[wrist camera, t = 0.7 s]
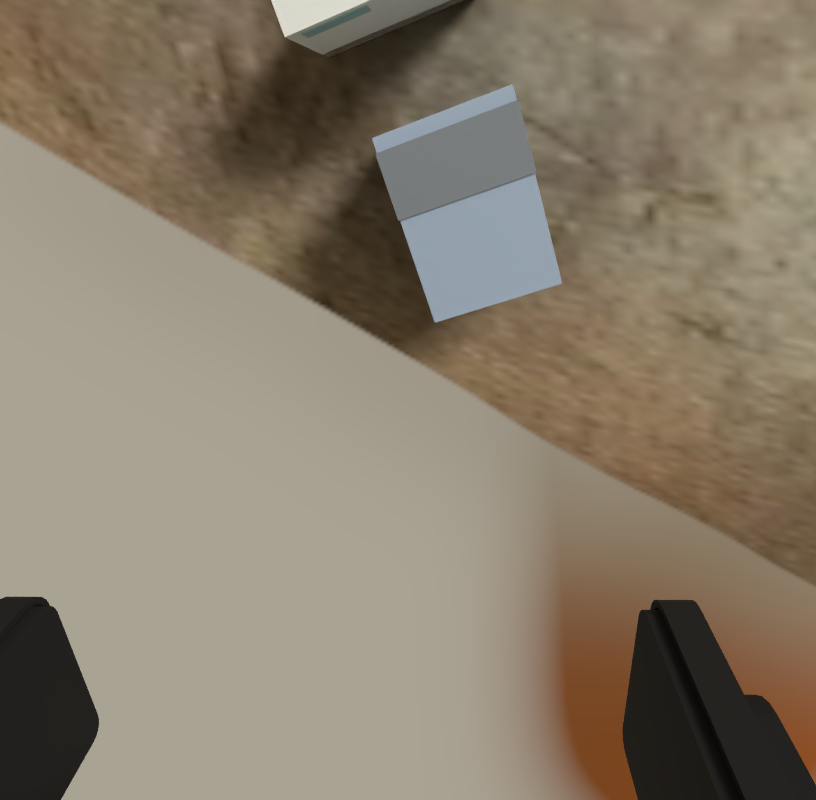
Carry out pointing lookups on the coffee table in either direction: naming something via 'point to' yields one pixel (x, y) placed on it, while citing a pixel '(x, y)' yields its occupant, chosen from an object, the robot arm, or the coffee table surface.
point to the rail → (392, 27)
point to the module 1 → (342, 19)
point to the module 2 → (470, 204)
